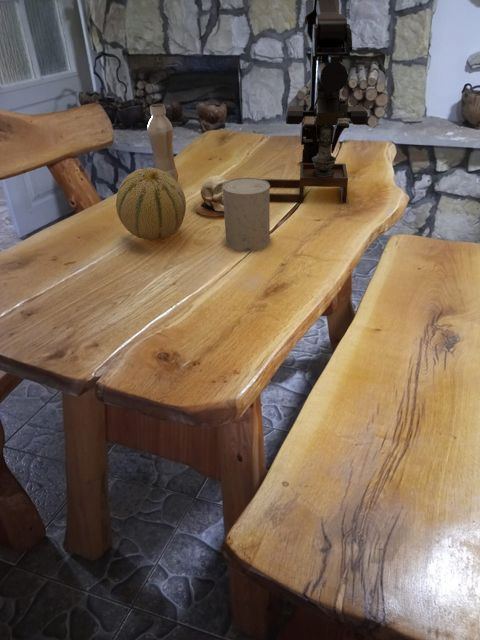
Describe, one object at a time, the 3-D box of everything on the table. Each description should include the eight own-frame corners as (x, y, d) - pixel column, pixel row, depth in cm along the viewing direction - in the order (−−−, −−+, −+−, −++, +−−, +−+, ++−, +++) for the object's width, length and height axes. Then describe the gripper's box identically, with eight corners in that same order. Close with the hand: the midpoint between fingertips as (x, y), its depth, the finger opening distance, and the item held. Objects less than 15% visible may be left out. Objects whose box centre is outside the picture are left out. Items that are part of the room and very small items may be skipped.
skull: (258, 204, 131) (235, 179, 123) (233, 239, 132) (208, 217, 124) (229, 189, 139) (204, 164, 131) (205, 222, 139) (179, 200, 131)
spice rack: (343, 187, 143) (345, 163, 140) (346, 203, 134) (348, 178, 131) (256, 186, 145) (255, 162, 141) (252, 201, 136) (252, 177, 132)
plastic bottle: (181, 182, 148) (173, 102, 136) (175, 191, 142) (167, 109, 130) (158, 181, 148) (148, 102, 136) (151, 190, 143) (140, 108, 131)
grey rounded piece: (309, 169, 138) (311, 119, 131) (332, 168, 139) (335, 118, 131) (313, 177, 133) (315, 126, 126) (337, 176, 134) (340, 125, 127)
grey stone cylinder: (254, 255, 112) (253, 197, 105) (216, 245, 116) (212, 188, 109) (278, 238, 118) (278, 182, 111) (241, 229, 123) (239, 174, 115)
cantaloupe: (149, 218, 128) (140, 153, 119) (202, 230, 122) (196, 162, 113) (106, 243, 117) (93, 173, 109) (162, 257, 112) (152, 185, 103)
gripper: (285, 90, 118) (284, 163, 127) (373, 90, 117) (365, 164, 126) (287, 79, 127) (286, 148, 136) (368, 79, 126) (362, 149, 135)
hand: (324, 152), depth 133 cm, fingers closed on grey rounded piece, 3 cm apart
